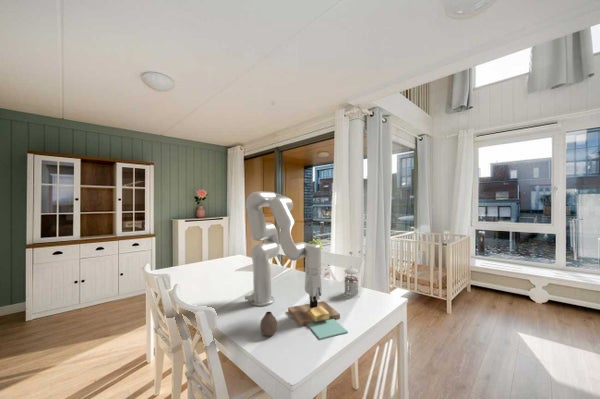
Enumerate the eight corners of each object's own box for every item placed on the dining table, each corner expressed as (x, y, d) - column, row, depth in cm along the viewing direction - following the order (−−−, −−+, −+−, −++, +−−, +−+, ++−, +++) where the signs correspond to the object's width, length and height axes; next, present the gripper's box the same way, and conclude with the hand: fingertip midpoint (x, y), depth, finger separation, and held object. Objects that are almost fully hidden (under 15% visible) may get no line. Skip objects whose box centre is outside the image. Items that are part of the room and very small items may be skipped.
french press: (347, 298, 137) (347, 254, 137) (338, 291, 148) (338, 249, 148) (363, 296, 140) (363, 252, 140) (353, 289, 151) (353, 248, 151)
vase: (261, 329, 106) (260, 309, 106) (277, 329, 106) (277, 308, 106) (259, 339, 99) (259, 317, 99) (277, 338, 99) (276, 316, 99)
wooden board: (300, 326, 108) (300, 322, 108) (288, 311, 122) (288, 307, 122) (340, 318, 115) (339, 314, 115) (324, 304, 130) (324, 301, 130)
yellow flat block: (315, 321, 108) (315, 316, 108) (307, 313, 115) (307, 308, 115) (329, 318, 111) (329, 313, 111) (321, 311, 118) (321, 306, 118)
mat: (319, 339, 98) (319, 338, 98) (307, 325, 109) (307, 324, 109) (347, 332, 103) (347, 331, 103) (333, 319, 114) (333, 318, 114)
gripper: (300, 267, 124) (300, 303, 124) (312, 275, 110) (313, 316, 110) (313, 265, 127) (314, 301, 127) (327, 273, 113) (328, 313, 113)
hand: (313, 308), depth 118 cm, fingers closed
